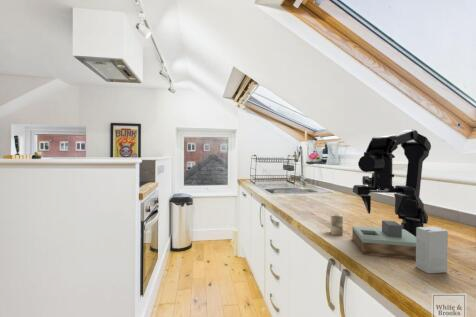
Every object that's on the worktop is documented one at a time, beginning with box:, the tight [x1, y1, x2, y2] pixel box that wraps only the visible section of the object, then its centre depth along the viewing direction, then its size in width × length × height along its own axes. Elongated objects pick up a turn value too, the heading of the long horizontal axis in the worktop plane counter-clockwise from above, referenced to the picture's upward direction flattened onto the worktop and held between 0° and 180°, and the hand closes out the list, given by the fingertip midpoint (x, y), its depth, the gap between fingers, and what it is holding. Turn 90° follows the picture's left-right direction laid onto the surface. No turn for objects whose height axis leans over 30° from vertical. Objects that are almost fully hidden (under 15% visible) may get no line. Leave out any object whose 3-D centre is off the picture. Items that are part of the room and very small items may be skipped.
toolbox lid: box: [351, 220, 416, 247], centre depth 81 cm, size 18×14×5 cm
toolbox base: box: [351, 229, 416, 260], centre depth 81 cm, size 18×14×4 cm
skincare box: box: [415, 226, 449, 274], centre depth 66 cm, size 6×4×12 cm
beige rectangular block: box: [330, 212, 344, 237], centre depth 96 cm, size 4×4×8 cm
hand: (382, 213), depth 83 cm, fingers open, 9 cm apart
